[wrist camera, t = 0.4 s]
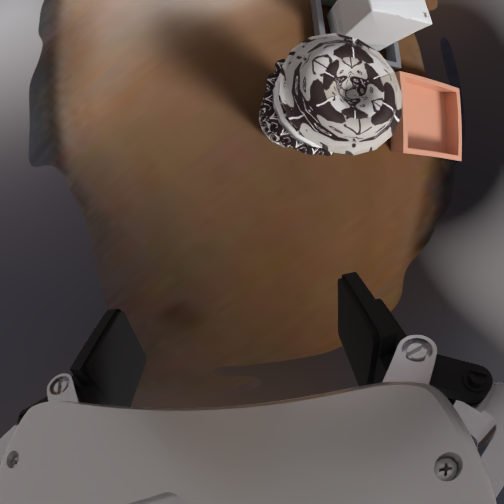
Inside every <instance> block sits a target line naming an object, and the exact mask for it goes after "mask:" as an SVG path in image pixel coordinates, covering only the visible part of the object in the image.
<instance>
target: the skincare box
mask: <svg viewBox="0 0 504 504" xmlns="http://www.w3.org/2000/svg"><path fill="white" fill-rule="evenodd" d="M327 19H328V23H329V28H330V32H331V34H332V33H336V34H340V35H345V36H349V37H353V38H357V39H359V40H361V41H362V42H364V43H366V44H367V45H369V46H370V47H372V48H373V49H375V50H376V51H380V50H382V49H383V48H385V47H387V46H389V45H391V44H392V43H394V42H396V41H398V40H400V39H402V38H404V37H406V36H408V35H410V34H412V33H414V32H416V31H418V30H420V29H422V28H424V27H427V26H429V25H432V21H431V18H430V15H429V12H428V9H427V6H426V3H425V0H337V1H336V3H335V4H334V6H333V7H332V8H331V10H330V11H329V13H328V14H327Z"/></svg>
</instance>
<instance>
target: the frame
mask: <svg viewBox="0 0 504 504" xmlns="http://www.w3.org/2000/svg"><path fill="white" fill-rule="evenodd" d="M336 1H337V0H310V5H311V12H312V19H313V27H314V35H315V36H318V35H325V26H324V19H323V12H322V6H321V5H324V6H332V7H333V6H334V4H335V3H336ZM385 49H386V56H387V60H386V62H387V63H388V64H389V65H390V67H391V68H392V69H393V71H395V70H398V69H401V68H402V67H401V60H400V53H399V46H398V41H396V42H394V43H392V44H391V45H389V46H387V47H385Z"/></svg>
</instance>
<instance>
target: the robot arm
mask: <svg viewBox="0 0 504 504" xmlns="http://www.w3.org/2000/svg"><path fill="white" fill-rule="evenodd" d="M338 333H339V337H340V340H341V342H342V344H343V347H344V349H345V352H346V354H347V357H348V359H349V362H350V364H351V367H352V370H353V372H354V375H355V377H356V380H357V383H358V385H359V386H358V387H354V388H348V389H343V390H339V391H334V392H329V393H324V394H319V395H313V396H308V397H302V398H295V399H290V400H283V401H275V402H268V403H259V404H250V405H240V406H227V407H210V408H141V407H131V404H132V400H133V398H134V395H135V392H136V389H137V386H138V383H139V381H140V378H141V375H142V372H143V370H144V367H145V364H146V360H147V359H146V354H145V352H144V351H143V349H142V347H141V345H140V343H139V341H138V339H137V337H136V335H135V333H134V331H133V329H132V327H131V325H130V323H129V321H128V319H127V317H126V315H125V313H124V312H123V311H121V310H120V309H110V310H107V311H106V313H105V314H104V316H103V317H102V319H101V320H100V322H99V323H98V325H97V326H96V328H95V329H94V331H93V333H92V334H91V335H90V337H89V339H88V340H87V342H86V343H85V345H84V346H83V348H82V350H81V351H80V353H79V355H78V356H77V358H76V360H75V361H74V363H73V365H72V366H71V368H70V370H71V372H72V373H73V376H72V377H71V376H70V375H69V374H60V375H58V376H56V377H55V378H53V379H52V380H51V382H50V383H49V385H48V387H47V397H45V398H44V399H42V400H40V401H39V402H37V403H35V404H33V405H32V406H30V407H28V408H26V409H25V410H23V411H22V412H21V413H20V415H19V418H18V426H16V425H15V426H14V427H12V428H11V430H9V431H8V432H7V433H6V434H5V435H4V436H3V437H2V438H1V439H0V504H497V503H496V499H495V498H496V497H497V496H498V494H499V492H500V491H501V489H502V488H503V486H504V384H502V383H500V382H498V384H495V383H493V379H492V376H491V374H490V372H489V371H488V370H487V369H486V368H485V367H483V366H480V365H477V364H472V363H468V362H465V361H461V360H457V359H453V358H450V357H446V356H442V355H438V354H437V348H436V345H435V343H434V342H433V341H432V340H431V339H429V338H427V337H425V336H422V335H411V336H408V337H407V336H406V334H405V333H404V331H403V330H402V328H401V327H400V325H399V324H398V322H397V321H396V320H395V319H394V317H393V315H392V314H391V312H390V311H389V310H388V308H387V307H386V305H385V304H384V303H383V301H382V300H381V299H375V298H374V297H373V295H372V294H371V292H370V291H369V290H368V288H367V287H366V285H365V284H364V282H363V281H362V280H361V278H360V277H359V276H358V274H357V273H356V272H353V273H348V274H343V275H342V278H341V279H338ZM467 428H468V429H467ZM470 434H472V435H473V436H474V437H475V438H476V440H477V442H478V450H477V448H476V446H475V444H474V441H473V439H472V437H471V435H470ZM436 461H437V462H436Z"/></svg>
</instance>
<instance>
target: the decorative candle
mask: <svg viewBox="0 0 504 504" xmlns="http://www.w3.org/2000/svg"><path fill="white" fill-rule="evenodd" d="M275 72H276V73H272V74H270V75H269V76H268V78H267V80H266V85H267V87H266V89H265V93H264V95H263V102H262V104H261V109H260V111H259V123H260V126H261V128H262V131H263V133H264V134H265V135H266V136H267V137H268V138H269V139H270V140H271V141H272V142H275V143H277V144H279V145H280V146H282V147H292V148H294V149H296V150H300V151H301V152H302V153H308V154H310V155H316V154H319V155H323V154H324V155H326V156H330V155H332V154H334V153H342V154H348V155H357V154H361V153H364V152H368V151H372V150H376V149H377V148H378V147H379V146H381V145H382V144H383V143H384V142H385V141H387V140H388V139H389V138H390V137H391V136H392V135H393V133H394V131H395V129H396V127H397V124H398V122H399V120H400V118H401V110H402V93H401V90H400V87H399V84H398V81H397V78H396V75H395V72H394V71H393V69H392V68H391V67H390V65H389V64H388V63H387V62H386V60H385V59H384V58H383V57H382V55H381V54H380V53H379V52H378V51H376V50H375V49H373V48H372V47H370V46H369V45H367V44H366V43H364V42H362V41H361V40H359V39H357V38H353V37H349V36H345V35H340V34H336V33H332V34H325V35H318V36H311V37H310V38H308V39H307V40H305V41H303V42H302V43H300V44H299V45H297V46H296V47H294V48H293V49H292V50H291V52H290V53H289V55H288V57H287V59H281V60H279V61H277V62H276V64H275Z"/></svg>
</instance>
